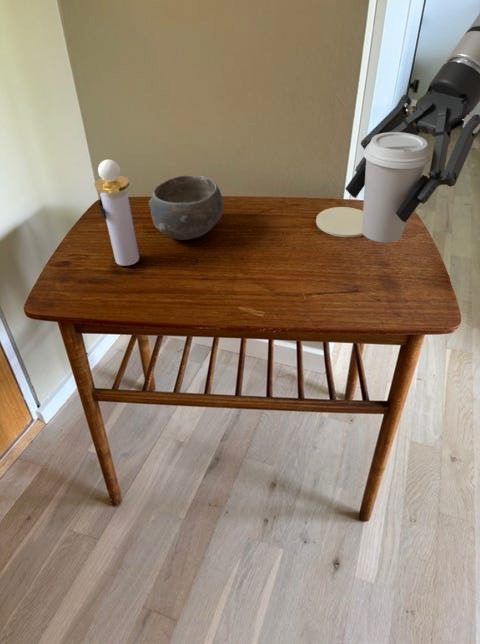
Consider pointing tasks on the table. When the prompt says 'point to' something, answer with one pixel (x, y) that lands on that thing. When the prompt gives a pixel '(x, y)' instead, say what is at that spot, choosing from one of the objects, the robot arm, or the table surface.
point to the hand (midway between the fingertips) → (374, 205)
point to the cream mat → (341, 221)
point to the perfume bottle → (117, 212)
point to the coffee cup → (390, 181)
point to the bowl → (186, 206)
